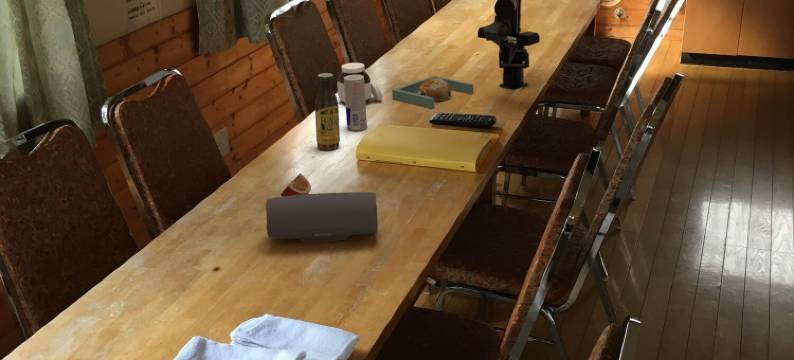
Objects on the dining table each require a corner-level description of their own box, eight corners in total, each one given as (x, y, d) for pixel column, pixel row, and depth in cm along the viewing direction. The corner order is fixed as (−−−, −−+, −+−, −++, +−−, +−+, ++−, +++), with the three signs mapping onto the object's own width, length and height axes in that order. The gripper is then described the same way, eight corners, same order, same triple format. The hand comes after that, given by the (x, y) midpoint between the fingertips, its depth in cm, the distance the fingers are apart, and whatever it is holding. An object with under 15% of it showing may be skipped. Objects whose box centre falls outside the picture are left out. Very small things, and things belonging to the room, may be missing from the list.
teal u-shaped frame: (434, 84, 300) (434, 75, 298) (473, 93, 289) (473, 84, 288) (392, 99, 287) (392, 89, 286) (431, 108, 277) (431, 99, 275)
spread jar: (334, 103, 286) (332, 66, 282) (361, 94, 294) (358, 57, 289) (362, 110, 279) (360, 72, 274) (388, 100, 286) (386, 63, 282)
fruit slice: (290, 190, 224) (288, 171, 222) (316, 192, 222) (315, 173, 220) (276, 204, 216) (274, 184, 214) (303, 207, 214) (301, 186, 212)
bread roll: (443, 114, 283) (454, 91, 280) (412, 100, 283) (423, 77, 280) (446, 104, 292) (457, 81, 289) (416, 90, 292) (426, 68, 289)
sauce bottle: (322, 153, 246) (316, 79, 239) (313, 146, 252) (307, 74, 244) (345, 148, 249) (340, 75, 242) (335, 141, 254) (330, 70, 247)
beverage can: (370, 125, 265) (367, 74, 259) (362, 132, 260) (359, 80, 254) (351, 124, 267) (348, 73, 261) (344, 131, 262) (340, 79, 256)
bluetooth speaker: (377, 225, 203) (375, 183, 199) (378, 244, 194) (375, 200, 191) (272, 231, 203) (268, 189, 199) (268, 250, 194) (263, 206, 190)
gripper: (464, 12, 269) (465, 65, 275) (516, 20, 256) (516, 75, 262) (489, 5, 276) (490, 57, 282) (541, 12, 263) (540, 66, 269)
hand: (508, 64), depth 274 cm, fingers closed
